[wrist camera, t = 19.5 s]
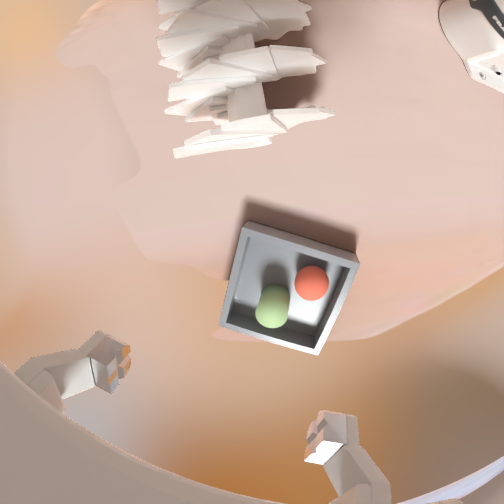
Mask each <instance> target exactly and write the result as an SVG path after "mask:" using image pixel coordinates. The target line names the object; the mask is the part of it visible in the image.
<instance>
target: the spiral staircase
mask: <svg viewBox="0 0 504 504" xmlns="http://www.w3.org/2000/svg"><path fill="white" fill-rule="evenodd" d="M158 7H159V14H163V13H169V12H175V11H179V12H178V13H176V14H175V15H173V16H172V17H170V18H169V19H168V20H166V21H165V22H163V23H162V24H160V25H159V26H158V28H159V29H161V30H165V31H166V34H167V35H165V36H160V37H156V42H157V44H158V47H159V49H160V52H161V54H162V57H165V56H168V57H166V58H164V59H162V60H160V61H159V65H162V66H165V67H168V68H171V69H174V70H177V71H180V72H179V73H178V74H177V78H180V79H181V81H183V82H175V83H169V89H168V102H169V101H176V100H183V99H188V100H186V101H184V102H181V103H179V104H176V105H174V106H172V107H169V108H167V109H165V110H164V111H165V114H173V115H182V116H188V117H186V118H185V122H194V121H208V120H214V123H215V125H221V129H209V130H207V131H205V132H202V133H200V134H198V135H196V136H193V137H191V138H189V139H187V140H185V141H184V146H185V147H179V148H174V149H173V152H174V156H175V159H176V158H182V157H187V156H192V155H198V154H204V153H210V152H217V151H223V150H230V149H244V148H252V147H258V146H263V145H268V144H271V143H272V139H271V136H275V135H279V133H286V132H288V131H287V129H289V128H291V127H293V126H295V125H297V124H299V123H302V122H306V121H312V120H321V119H327V117H329V116H334V115H335V111H334V110H330V109H326V108H324V107H317V106H308V107H305V108H295V109H266V104H265V98H264V92H263V87H262V82H269V81H278V80H279V79H281V78H283V77H288V76H301V75H305V74H313V73H316V66H318V65H321V64H325V63H326V61H325V59H324V58H322V57H320V56H318V55H317V54H315V53H313V51H312V48H304V47H294V46H281V45H270V46H269V47H268V46H263V47H258V48H255V45H254V43H255V42H257V41H260V40H263V39H272V40H278V39H279V38H280V37H282V36H283V35H284V34H286V33H287V32H288V31H298V30H303V26H308V25H311V23H310V20H309V18H308V16H307V14H306V12H308V11H310V10H312V8H311V6H309V5H307V4H305V3H303V2H300V1H298V0H158ZM169 55H170V56H169ZM190 98H191V99H190Z"/></svg>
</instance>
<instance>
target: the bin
mask: <svg viewBox="0 0 504 504" xmlns="http://www.w3.org/2000/svg"><path fill="white" fill-rule="evenodd" d="M359 265H360V262H359V260H358V258H357V255H356V253H353V252H350V251H347V250H343V249H340V248H337V247H334V246H331V245H328V244H325V243H322V242H318V241H315V240H312V239H309V238H306V237H302V236H299V235H296V234H293V233H289V232H286V231H283V230H280V229H276V228H273V227H270V226H266V225H263V224H260V223H256V222H253V221H249V220H248V221H247V222H246V223H245V225H244V226H243V227H242V230H241V234H240V238H239V242H238V246H237V250H236V254H235V258H234V262H233V266H232V271H231V275H230V279H229V283H228V287H227V291H226V296H225V300H224V304H223V308H222V313H221V317H220V321H219V326H222V327H225V328H228V329H231V330H234V331H237V332H240V333H243V334H246V335H249V336H252V337H255V338H258V339H262V340H265V341H268V342H272V343H275V344H279V345H282V346H285V347H289V348H292V349H296V350H300V351H303V352H307V353H311V354H315V355H318V354H319V352H320V350H321V348H322V346H323V345H324V343H325V341H326V339H327V337H328V334H329V332H330V330H331V328H332V326H333V324H334V322H335V320H336V318H337V316H338V314H339V311H340V309H341V307H342V305H343V303H344V300H345V298H346V296H347V294H348V291H349V289H350V287H351V284H352V282H353V280H354V277H355V275H356V273H357V270H358V268H359ZM307 266H317V267H320V268H321V269H323V270H324V271H325V272H326V274H327V276H328V278H329V288H328V290H327V292H326V294H325V295H324V296H323V297H322V298H320V299H318V300H315V301H308V300H305V299H303V298H301V297H300V296H299V295H298V293H297V292H296V290H295V286H294V281H295V277H296V275H297V273H298V272H299V271H300V270H301V269H302V268H304V267H307ZM271 284H280V285H282V286H284V287H286V288H287V289H288V291H289V293H290V304H289V311H288V317H287V320H286V322H285V323H284V324H283V325H282V326H280V327H278V328H267V327H265V326H263V325H261V324H260V323H259V322H258V320H257V319H256V315H255V312H256V308H257V305H258V303H259V300H260V297H261V294H262V291H263V290H264V288H265V287H267V286H268V285H271Z"/></svg>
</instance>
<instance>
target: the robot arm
mask: <svg viewBox="0 0 504 504" xmlns="http://www.w3.org/2000/svg"><path fill="white" fill-rule="evenodd" d="M439 19H440V23H441V27H442V29H443V31H444V34H445V35H446V37H447V39H448V41H449V42H450V44H451V45H452V47H453V48H454V49H455V51H456V52H457V53H458V54H459V56H460V57H461V58H462V60H463V62H464V65H465V67H466V70H467V72H468V74H469V75H470V77H471V78H472V79H473V80H475V81H478V82H480V83H482V84H484V85H486V86H489V87H491V88H493V89H495V90H497V91H499V92H501V93H503V94H504V0H447V1H445V2H444V3H443V4H442V5H441V7H440V10H439ZM479 73H480V74H481V76H480V74H479ZM130 352H131V351H130V345H127V344H126V343H124V342H122V341H120V340H118V339H116V338H115V337H113V336H111V335H109V334H107V333H105V332H103V331H101V330H100V331H97V332H96V333H95V334H94V335H93V336H92V337H91V338H89V340H88V341H86V342H85V343H84V344H83V345H82V346H81V347H80V348H79V349H78V350H77V349H70V350H66V351H61V352H57V353H53V354H47V355H42V356H38V357H33V358H30V359H29V360H28V361H27V362H26V363H25V364H24V365H22V366H21V367H20V368H19V369H18V370H17V371H16V372H15V373H13V372H12V371H11V370H10V369H9V368H8V367H6V365H4V363H2V362H1V361H0V504H285V503H279V502H273V501H268V500H262V499H257V498H253V497H248V496H244V495H240V494H236V493H232V492H228V491H225V490H221V489H218V488H214V487H211V486H208V485H205V484H201V483H199V482H196V481H193V480H190V479H187V478H184V477H182V476H179V475H176V474H174V473H171V472H169V471H167V470H164V469H162V468H160V467H157V466H155V465H153V464H150V463H148V462H146V461H144V460H142V459H140V458H138V457H135V456H133V455H131V454H129V453H128V452H126V451H124V450H122V449H120V448H118V447H116V446H114V445H112V444H111V443H109V442H107V441H105V440H103V439H102V438H100V437H99V436H97V435H95V434H93V433H91V432H90V431H89V430H87V429H85V428H84V427H82V426H81V425H79V424H78V423H76V422H75V421H73V420H72V419H70V418H69V417H67V416H66V415H65V414H64V413H65V412H66V408H65V406H64V403H63V401H62V399H64V398H67V397H70V396H72V395H75V394H77V393H80V392H82V391H85V390H87V389H90V388H92V387H94V386H95V385H96V386H97V387H99V388H101V389H103V390H105V391H107V392H109V393H110V394H112V393H113V391H114V390H115V389H116V387H117V386H118V385H119V379H121V378H124V377H125V376H126V375H127V373H128V371H129V368H130V365H131V358H130V357H129V355H128V354H129V353H130ZM306 440H307V442H308V443H309V445H308V446H307V447H306V450H305V460H304V461H307V462H312V463H317V464H323V466H324V468H325V470H326V472H327V474H328V476H329V478H330V480H331V482H332V484H333V486H334V488H335V490H336V492H337V494H338V496H339V497H338V498H336V499H334V500H333V501H331V502H330V503H328V504H391V489H390V483H389V481H388V480H387V479H386V477H385V476H384V475H383V473H382V472H381V471H380V470H379V468H378V467H377V466H376V464H375V463H374V462H373V460H372V459H371V458H370V456H369V455H368V454H367V452H366V451H365V450H364V448H363V447H360V446H359V436H358V423H357V417H356V416H355V415H349V414H343V413H338V412H332V411H327V410H321V411H320V412H319V413H318V417H317V419H316V420H314V421H313V422H312V423H311V425H310V427H309V429H308V433H307V439H306ZM427 504H464V503H463V502H462V501H460V500H459V499H448V500H444V501H439V502H433V503H427Z"/></svg>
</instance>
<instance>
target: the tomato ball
mask: <svg viewBox="0 0 504 504" xmlns="http://www.w3.org/2000/svg"><path fill="white" fill-rule="evenodd" d="M294 286H295V290H296V292H297V293H298V295H299V296H300V297H301V298H303V299H305V300H308V301H315V300H318V299H320V298H322V297H323V296H324V295H325V294H326V292H327V290H328V288H329V278H328V276H327V274H326V272H325V271H324V270H323V269H321V268H320V267H317V266H307V267H304V268H302V269H301V270H300V271H299V272H298V273H297V275H296V277H295V281H294Z"/></svg>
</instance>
